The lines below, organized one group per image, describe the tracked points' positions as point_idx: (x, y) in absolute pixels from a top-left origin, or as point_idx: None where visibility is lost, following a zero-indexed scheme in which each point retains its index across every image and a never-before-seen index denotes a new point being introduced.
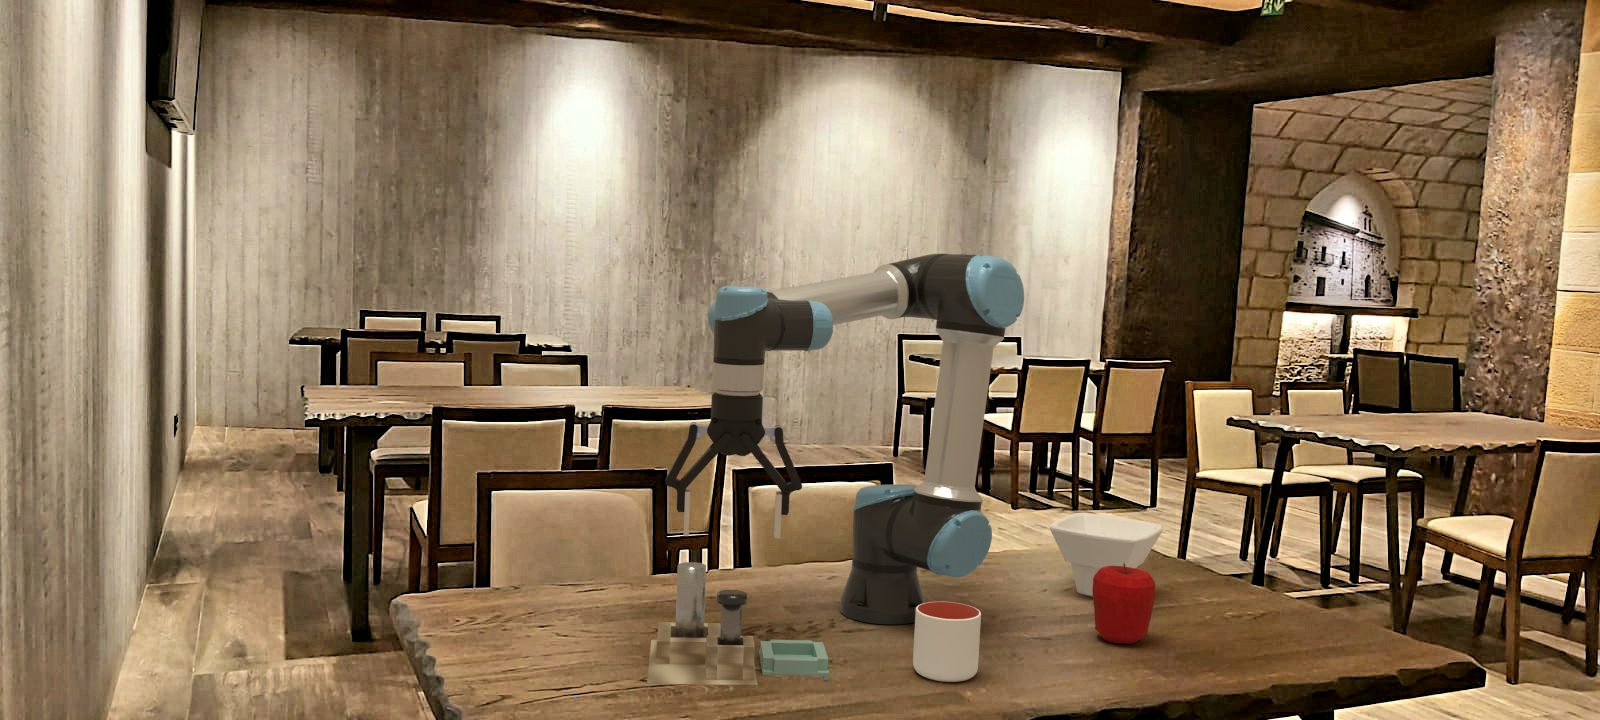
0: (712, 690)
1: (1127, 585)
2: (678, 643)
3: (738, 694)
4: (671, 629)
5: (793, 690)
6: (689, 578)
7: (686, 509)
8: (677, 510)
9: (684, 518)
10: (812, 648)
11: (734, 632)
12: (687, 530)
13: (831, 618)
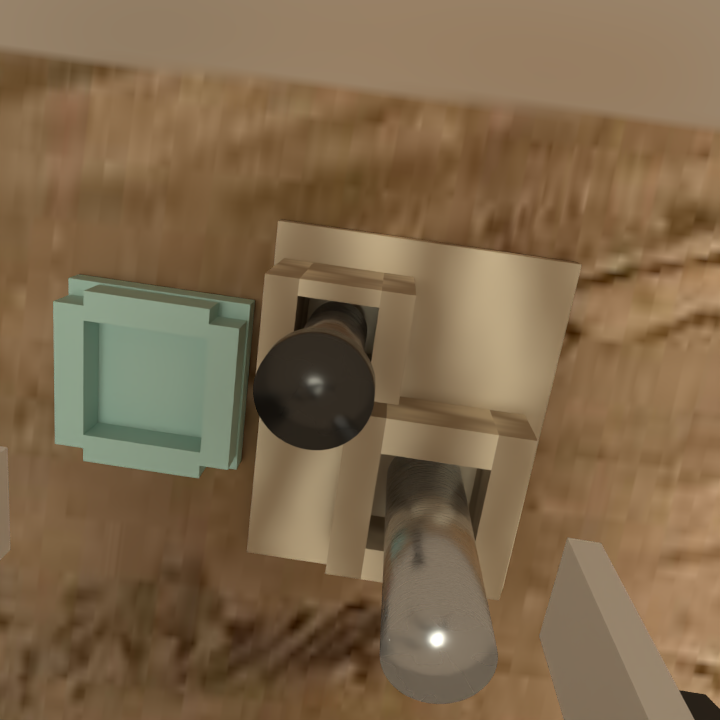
0: (401, 232)
1: None
2: (474, 429)
3: (336, 193)
4: None
5: (182, 209)
6: (454, 586)
7: (656, 680)
8: (716, 706)
9: (641, 625)
10: (90, 428)
11: (321, 319)
12: (586, 562)
13: (25, 708)
